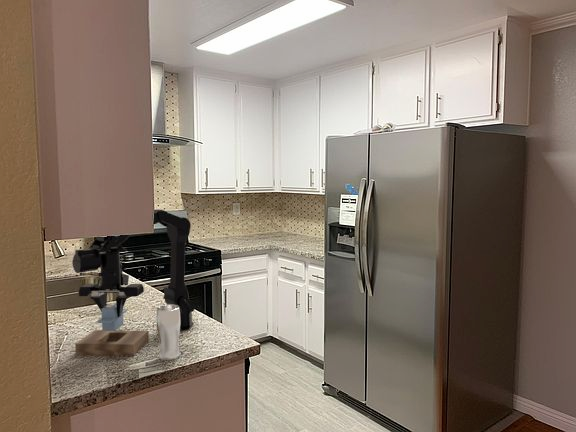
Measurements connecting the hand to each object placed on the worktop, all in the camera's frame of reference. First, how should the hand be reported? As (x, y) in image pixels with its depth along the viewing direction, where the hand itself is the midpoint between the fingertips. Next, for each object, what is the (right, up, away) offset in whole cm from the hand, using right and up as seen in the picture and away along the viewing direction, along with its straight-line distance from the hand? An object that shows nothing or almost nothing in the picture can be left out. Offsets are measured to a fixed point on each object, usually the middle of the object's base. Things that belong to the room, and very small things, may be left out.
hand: (112, 316), depth 137 cm
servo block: (0, -4, 0) cm, 4 cm away
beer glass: (+20, -11, -6) cm, 23 cm away
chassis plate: (0, -10, +1) cm, 10 cm away
